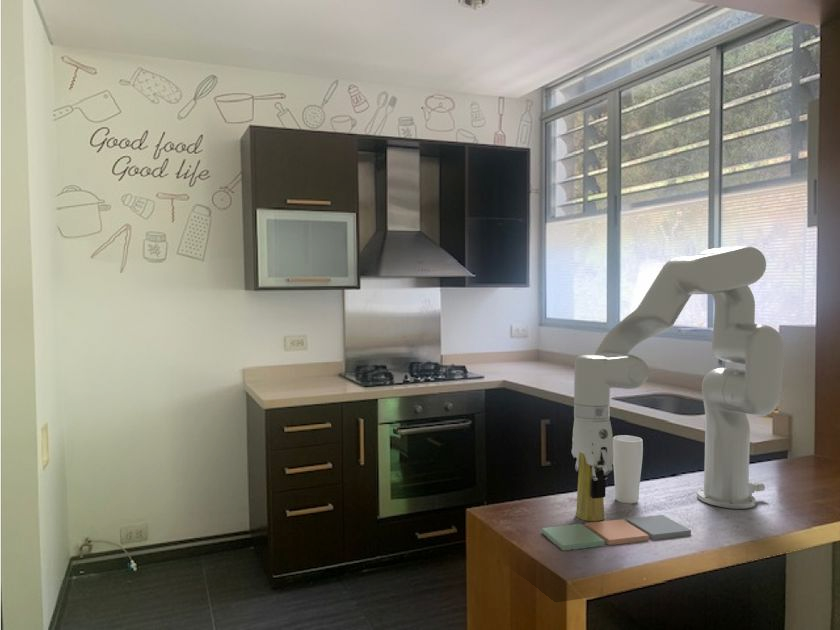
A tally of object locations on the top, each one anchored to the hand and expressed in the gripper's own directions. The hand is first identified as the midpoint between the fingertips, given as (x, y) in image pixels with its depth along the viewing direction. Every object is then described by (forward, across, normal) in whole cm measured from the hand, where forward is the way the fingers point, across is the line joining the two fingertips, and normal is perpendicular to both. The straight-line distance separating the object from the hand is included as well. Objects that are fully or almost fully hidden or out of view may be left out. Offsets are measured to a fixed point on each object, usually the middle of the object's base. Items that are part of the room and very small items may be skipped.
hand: (590, 492), depth 136 cm
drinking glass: (+6, +7, -14) cm, 17 cm away
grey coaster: (+5, -10, -10) cm, 15 cm away
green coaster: (+5, -10, +10) cm, 15 cm away
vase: (+6, 0, 0) cm, 6 cm away
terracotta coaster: (+5, -10, 0) cm, 11 cm away
